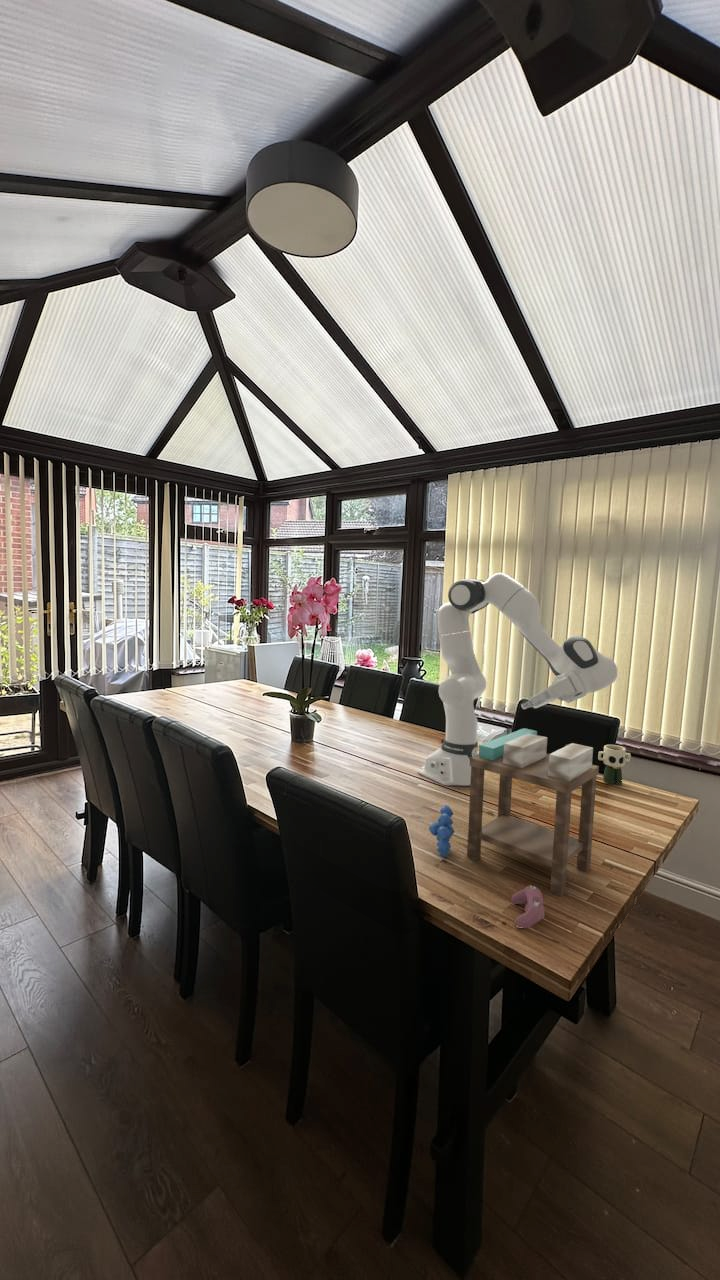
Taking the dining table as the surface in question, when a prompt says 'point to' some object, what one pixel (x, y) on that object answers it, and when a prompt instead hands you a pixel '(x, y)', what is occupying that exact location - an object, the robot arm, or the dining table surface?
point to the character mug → (613, 762)
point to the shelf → (548, 771)
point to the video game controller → (529, 906)
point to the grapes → (443, 830)
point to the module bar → (500, 744)
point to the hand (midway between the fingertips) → (527, 704)
